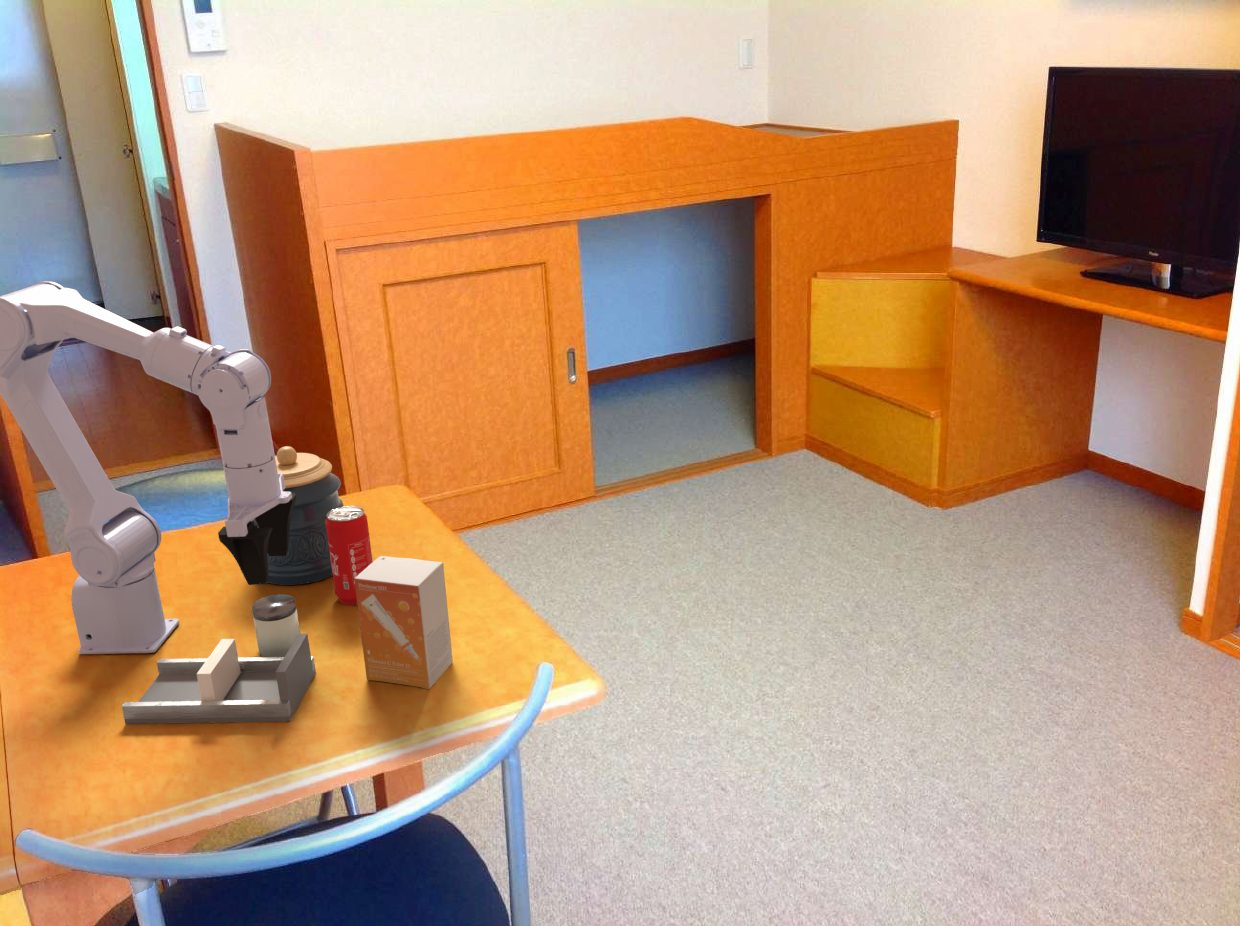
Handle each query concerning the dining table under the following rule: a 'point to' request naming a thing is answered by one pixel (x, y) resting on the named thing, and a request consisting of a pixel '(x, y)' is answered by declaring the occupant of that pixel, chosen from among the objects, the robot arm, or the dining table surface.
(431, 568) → the small box
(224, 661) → the block
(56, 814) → the dining table surface
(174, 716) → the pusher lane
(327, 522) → the beverage can
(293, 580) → the canister
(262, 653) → the cream jar with lid
